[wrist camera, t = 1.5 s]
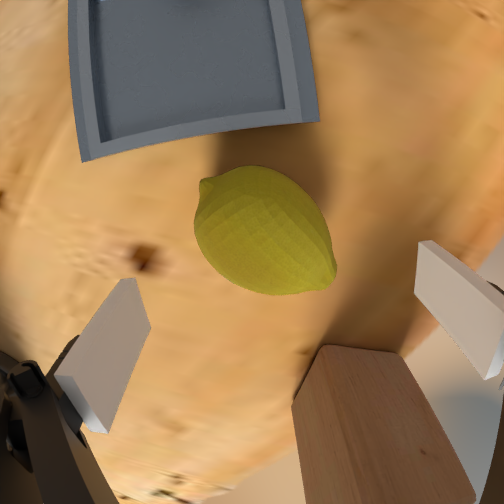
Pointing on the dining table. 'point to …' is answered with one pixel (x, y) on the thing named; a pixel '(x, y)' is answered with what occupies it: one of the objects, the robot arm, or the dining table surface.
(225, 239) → the lemon
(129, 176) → the dining table surface
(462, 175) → the dining table surface
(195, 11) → the base
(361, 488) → the wooden block
